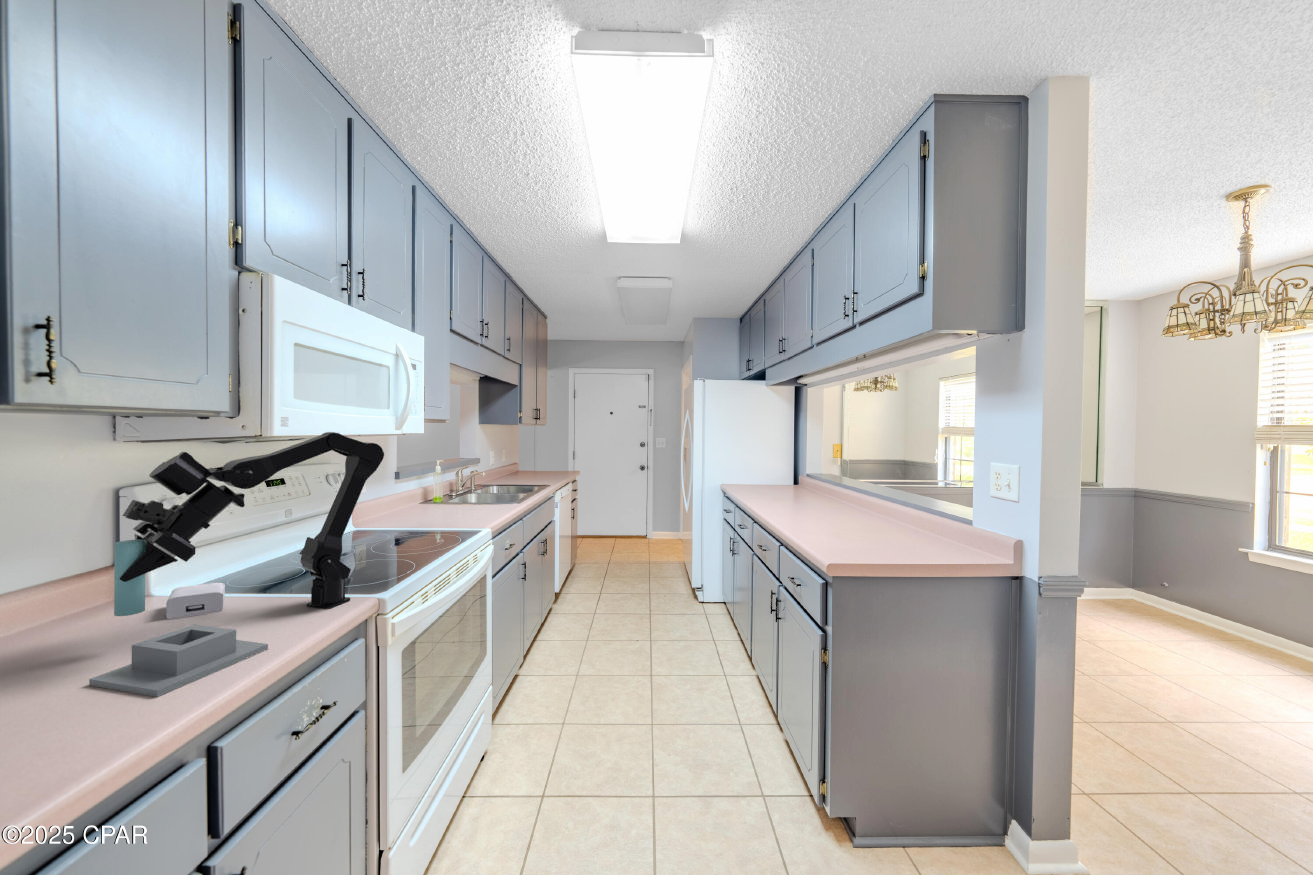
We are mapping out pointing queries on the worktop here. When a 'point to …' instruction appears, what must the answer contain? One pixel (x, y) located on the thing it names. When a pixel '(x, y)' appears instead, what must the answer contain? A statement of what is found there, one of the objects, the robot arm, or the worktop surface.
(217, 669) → the socket holder
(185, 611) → the charger
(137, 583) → the peg
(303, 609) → the worktop surface
